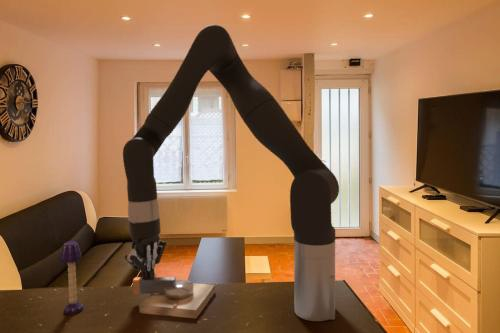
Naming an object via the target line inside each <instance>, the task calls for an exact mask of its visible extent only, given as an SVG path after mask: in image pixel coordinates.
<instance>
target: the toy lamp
mask: <svg viewBox="0 0 500 333" xmlns="http://www.w3.org/2000/svg"><path fill="white" fill-rule="evenodd" d="M82 257H83V256H82V252H81V249H80V247H79V244H78V242H77V241H73V240H72V241H71V240H70V241H65V243H63V245H62V248H61V253H60V257H59V261H60V262H61V263H64V264H67V266H68V267H67V272H68V274H67V277H68V296H69V298H68V302H69V303H67V304H66V305H65V307H64V309H63V313H64V314H65V315H77V314H79V313H81V312H82V311H83V310H84V306H83V304H82V302H80V301H78V299H77V295H78V293H77V274H76V262H79V261H81V260H82Z"/></svg>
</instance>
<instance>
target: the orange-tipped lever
mask: <svg viewBox="0 0 500 333" xmlns="http://www.w3.org/2000/svg"><path fill="white" fill-rule="evenodd" d="M132 289H133V290H132V291H133V292H132V293H133V295H142V294H149V295H151V294H165V296H166V297H167V298H169V299H184V298H187V297H189V296H191V295H192V294H193V281H191V280H189V279H188V280H187V279H176V277H174V276H171V277H170V276H165V277H162V276H160V277H158V276H157V277H156V276H155V277H142V276H135V277H134V278H133V280H132Z"/></svg>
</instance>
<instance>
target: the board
mask: <svg viewBox="0 0 500 333" xmlns="http://www.w3.org/2000/svg"><path fill="white" fill-rule="evenodd" d="M215 293H216V284H208V283H197V282H196V283H195V282H194V283H193V294H192V295H191V296H189V297H187V298H184V299H169V298H167V297H166V296H165V294H149V295H148V296H147V297H146V298H145V299H144V300H143V301H141V302H140V304H139V306H138V308H139V314H146V315H157V316H166V317H167V316H169V317H176V318H177V317H179V318H185V319H186V318H189V319H197V318H198V317H199V315H200V314H201V313H202V312H203V310H204V308H205V307H206V306H207V305H208V303H209V301H211V299H212V297H213V296H214V295H215ZM213 294H214V295H213ZM210 298H211V299H210Z"/></svg>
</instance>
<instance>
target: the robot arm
mask: <svg viewBox="0 0 500 333" xmlns="http://www.w3.org/2000/svg"><path fill="white" fill-rule="evenodd" d="M208 71H209V72H210V73H211V75H212V76H214V77H215V79H216V80H217V81H218V82H219V83H220V84H221V86H222V87H223V88H224V90H225V91H226V92H227V94H228V95H229V97H230V99H231V101H232V103H233V105H234V107H235V110H236V111H237V113H238V115H239V116H240V118H241V119H242V122H244V124H245V125H246V126H247V128H248V129H249V131H250V133H251V134H252V135H253V137H254V138H255V139H256V140H257V141H258V142H259V143H260V144H261V145H262V146H263V147H265V148H266V149H267V150H268V151H269V152H271V153H272V154H273V155H274V156H275V157H277V158H278V159H279V160H280V161H282V162H283V164H284V165H285V166H286V167H287V169H288V170H289V171H290V173H291V174H292V176H293V180H292V181H291V185H290V190H289V205H290V206H289V207H290V208H289V210H290V225H291V229H292V231H293V237H294V238H293V240H294V241H293V248H294V250H293V251H294V252H293V255H294V256H293V259H294V261H293V263H294V266H293V268H294V269H293V273H294V274H293V275H294V276H293V279H294V281H293V282H294V283H293V284H294V288H293V289H294V290H293V291H294V297H293V298H294V301H293V304H294V305H293V306H294V313H295V314H296V316H297V317H299V318H300V319H302V320H304V321H305V320H306V321H310V322H324V321H328V320H333V321H334V320H335V319H336V229H335V227H334V226H333V224H332V204H334V202H335V201H336V200H337V199H338V197H339V193H340V185H339V181H338V179H337V177H336V175H335V174H334V173H333V172H332V170H330V168H328V166H327V165H326V164H325V162H323V161H322V160H321V159H320V158H319V157H318V155H316V153H315V152H314V151H313V150H312V149H311V148H310V146H309V145H308V143H307V141H305V139H304V137H303V136H302V135H301V133H300V132H299V130H298V129H297V127H296V125H295V124H294V123H293V122H292V121H291V119H290V118H289V117H288V115H287V113H286V111H285V110H284V108H283V107H282V106H281V105H280V103H279V102H278V101H277V99H276V98H275V97H274V96H273V95H272V93H271V92H270V91H269V90H268V89H266V87H265V86H263V85H262V84H261V83H260V82H259V81H258V80H257V79H255V77H253V76H252V75H251V73H250V71H249V70H248V68H247V67H246V65H245V63H244V62H243V61H242V59H241V57H240V55H239V53H238V51H237V49H236V45H235V44H234V41H233V39H232V37H231V36H230V34H229V32H228V31H227V29H226V28H224V27H223V26H221V25H218V24H210V25H208V26H205V27H203V28H202V29H201V30H200V31H199V32H198V33H197V35H196V37H195V38H194V40H193V42H192V44H191V46H190V47H189V50H188V51H187V54H186V55H185V57H184V59H183V61H182V63H181V64H180V67H179V68H178V70H177V72H176V74H175V75H174V77H173V79H172V81H171V82H170V83H169V86H168V87H167V89H166V90H165V92H164V93H163V94H162V95H161V97H160V99H159V100H158V101H157V102H156V104H155V105H154V106H153V108H152V109H151V110H150V112H149V113H148V115H147V116H146V118H145V119H144V123H143V124H142V125H141V127H140V128H139V129H138V131H137V132H136V133H135V134H134V135H133V137H132V138H131V139H130V140H128V141H127V142H126V143H125V145H124V147H123V148H122V159H123V160H122V162H123V167H124V173H125V177H126V181H127V182H126V190H127V200H128V201H127V217H128V218H127V219H128V229H129V237H130V238H131V240H132V242H131V250H130V252H129V254H128V253H127V254H125V255H124V259H125V260H126V262H127V263H128V264H129V265H130V266H131V267H133V269H134V270H135V271H141V277H156V275H155V268H156V265H159V264H160V261H161V259H162V256H163V254H164V252H165V249H166V246H167V242H166V241H163V240H161V238H160V234H161V232H162V231H161V219H160V205H159V202H158V200H159V199H158V192H157V191H158V189H157V182H156V178H155V173H154V172H155V170H154V169H155V167H154V166H155V165H154V157H155V155H156V154H157V153H158V151H159V150H160V148H161V147H162V145H163V144H164V142H165V140H167V138H169V136H170V135H171V134H172V133H173V131H174V130H175V129H176V127H178V125H179V123H180V122H181V121H182V119H183V118H184V116H185V115H186V113H187V111H188V109H189V107H190V105H191V104H192V99H193V98H194V95H195V93H196V90H197V88H198V86H199V84H200V82H201V80H202V79H203V78H204V76H205V75H206V74H207V72H208Z"/></svg>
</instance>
